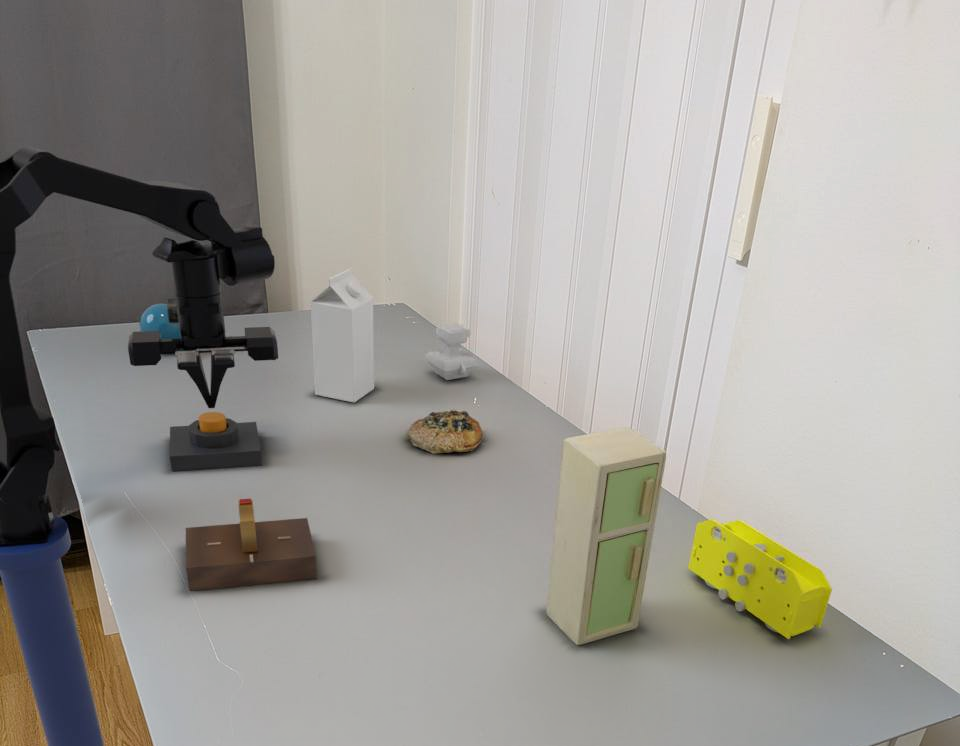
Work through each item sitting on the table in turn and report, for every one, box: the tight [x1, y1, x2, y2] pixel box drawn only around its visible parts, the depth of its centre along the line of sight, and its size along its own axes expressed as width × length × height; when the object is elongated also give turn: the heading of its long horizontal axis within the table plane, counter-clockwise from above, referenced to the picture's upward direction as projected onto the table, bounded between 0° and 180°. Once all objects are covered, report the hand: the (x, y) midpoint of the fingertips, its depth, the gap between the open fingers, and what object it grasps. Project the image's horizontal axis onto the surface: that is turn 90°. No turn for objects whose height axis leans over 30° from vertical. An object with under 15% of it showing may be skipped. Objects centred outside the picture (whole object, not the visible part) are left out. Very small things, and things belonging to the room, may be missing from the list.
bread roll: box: [407, 409, 484, 454], centre depth 139 cm, size 11×11×5 cm
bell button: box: [198, 411, 227, 433], centre depth 131 cm, size 4×4×2 cm
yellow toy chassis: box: [687, 518, 833, 640], centre depth 105 cm, size 16×6×8 cm, turn 31°
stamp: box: [425, 322, 479, 381], centre depth 160 cm, size 9×7×8 cm
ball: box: [139, 303, 181, 339], centre depth 164 cm, size 8×8×8 cm
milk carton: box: [310, 267, 375, 403], centre depth 149 cm, size 7×7×19 cm
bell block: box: [169, 417, 263, 472], centre depth 132 cm, size 12×10×4 cm
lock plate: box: [184, 517, 318, 592], centre depth 109 cm, size 14×9×3 cm, turn 105°
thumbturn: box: [237, 497, 258, 553], centre depth 107 cm, size 5×2×4 cm, turn 14°
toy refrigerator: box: [546, 426, 667, 646], centre depth 97 cm, size 8×7×21 cm
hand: (211, 407), depth 130 cm, fingers closed
